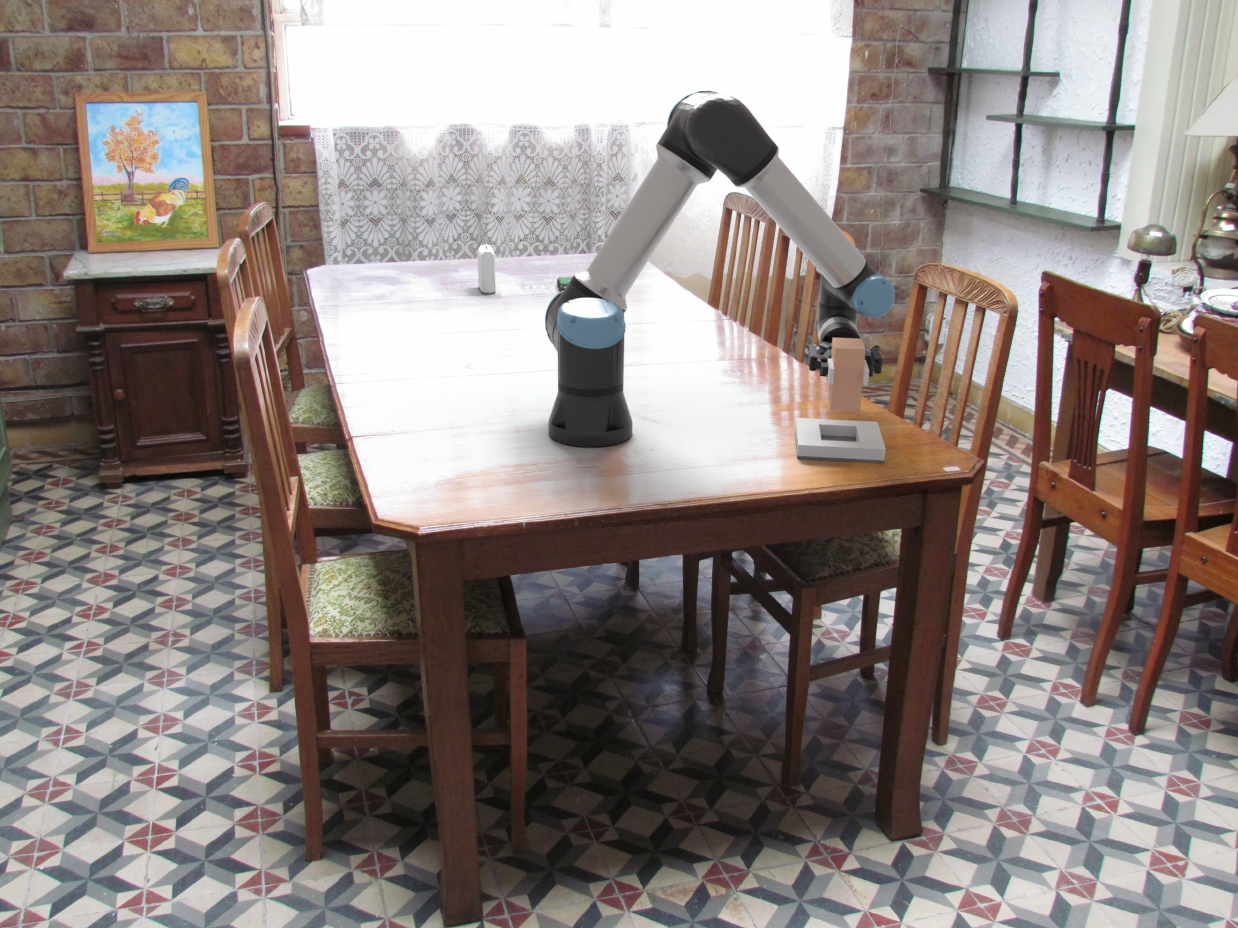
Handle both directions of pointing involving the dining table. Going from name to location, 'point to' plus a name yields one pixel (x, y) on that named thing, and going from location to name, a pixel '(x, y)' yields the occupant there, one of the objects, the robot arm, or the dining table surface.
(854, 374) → the peach block
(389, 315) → the dining table surface
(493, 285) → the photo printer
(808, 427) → the pocket plate
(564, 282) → the disk drive
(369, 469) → the dining table surface
